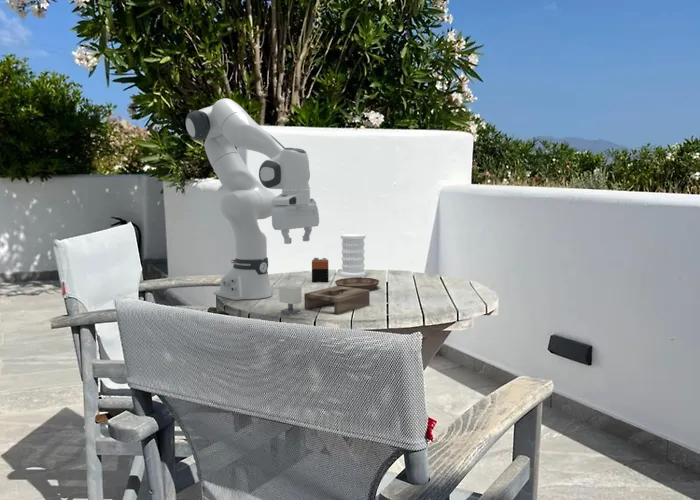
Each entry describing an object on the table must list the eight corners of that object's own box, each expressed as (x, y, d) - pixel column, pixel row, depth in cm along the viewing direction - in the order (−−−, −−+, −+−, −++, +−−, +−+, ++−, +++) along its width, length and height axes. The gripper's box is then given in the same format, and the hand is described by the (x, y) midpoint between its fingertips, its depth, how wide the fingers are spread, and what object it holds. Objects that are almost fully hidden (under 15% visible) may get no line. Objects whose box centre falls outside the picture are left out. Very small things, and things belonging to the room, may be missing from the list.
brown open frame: (304, 308, 205) (304, 293, 204) (336, 300, 219) (336, 285, 219) (338, 314, 197) (338, 298, 196) (369, 304, 211) (369, 289, 211)
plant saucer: (341, 293, 232) (341, 285, 232) (329, 285, 249) (329, 278, 249) (385, 291, 237) (385, 283, 237) (371, 283, 254) (371, 276, 254)
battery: (312, 280, 260) (312, 257, 259) (328, 280, 260) (328, 257, 259) (311, 282, 256) (311, 258, 254) (328, 282, 256) (328, 258, 254)
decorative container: (371, 276, 272) (371, 235, 269) (348, 278, 266) (348, 236, 264) (357, 272, 281) (357, 233, 279) (335, 274, 276) (335, 234, 274)
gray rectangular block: (279, 312, 199) (278, 287, 198) (288, 310, 203) (287, 285, 202) (293, 315, 196) (292, 289, 195) (302, 312, 199) (301, 286, 198)
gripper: (307, 198, 206) (308, 239, 207) (267, 200, 189) (269, 244, 190) (323, 198, 202) (324, 240, 204) (283, 199, 185) (284, 245, 187)
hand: (297, 242), depth 197 cm, fingers open, 8 cm apart
